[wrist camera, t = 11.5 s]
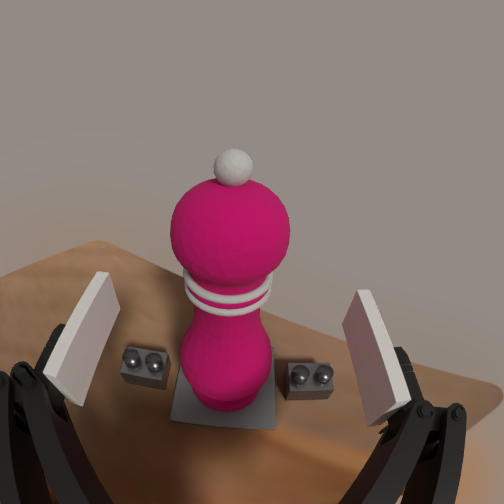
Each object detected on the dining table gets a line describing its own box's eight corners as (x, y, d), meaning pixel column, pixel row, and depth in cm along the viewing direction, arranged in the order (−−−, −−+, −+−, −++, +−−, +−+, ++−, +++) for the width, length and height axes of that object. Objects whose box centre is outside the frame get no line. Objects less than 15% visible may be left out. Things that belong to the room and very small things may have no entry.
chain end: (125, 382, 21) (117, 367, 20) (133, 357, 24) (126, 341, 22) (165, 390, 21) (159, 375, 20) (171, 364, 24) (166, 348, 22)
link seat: (170, 420, 19) (169, 419, 19) (186, 341, 26) (185, 340, 26) (275, 429, 19) (276, 428, 19) (273, 348, 27) (273, 347, 26)
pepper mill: (279, 374, 24) (335, 155, 12) (237, 432, 19) (267, 193, 7) (217, 340, 27) (220, 130, 15) (170, 388, 21) (118, 155, 10)
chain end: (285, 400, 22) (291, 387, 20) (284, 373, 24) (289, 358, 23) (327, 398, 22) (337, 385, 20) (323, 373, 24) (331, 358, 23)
